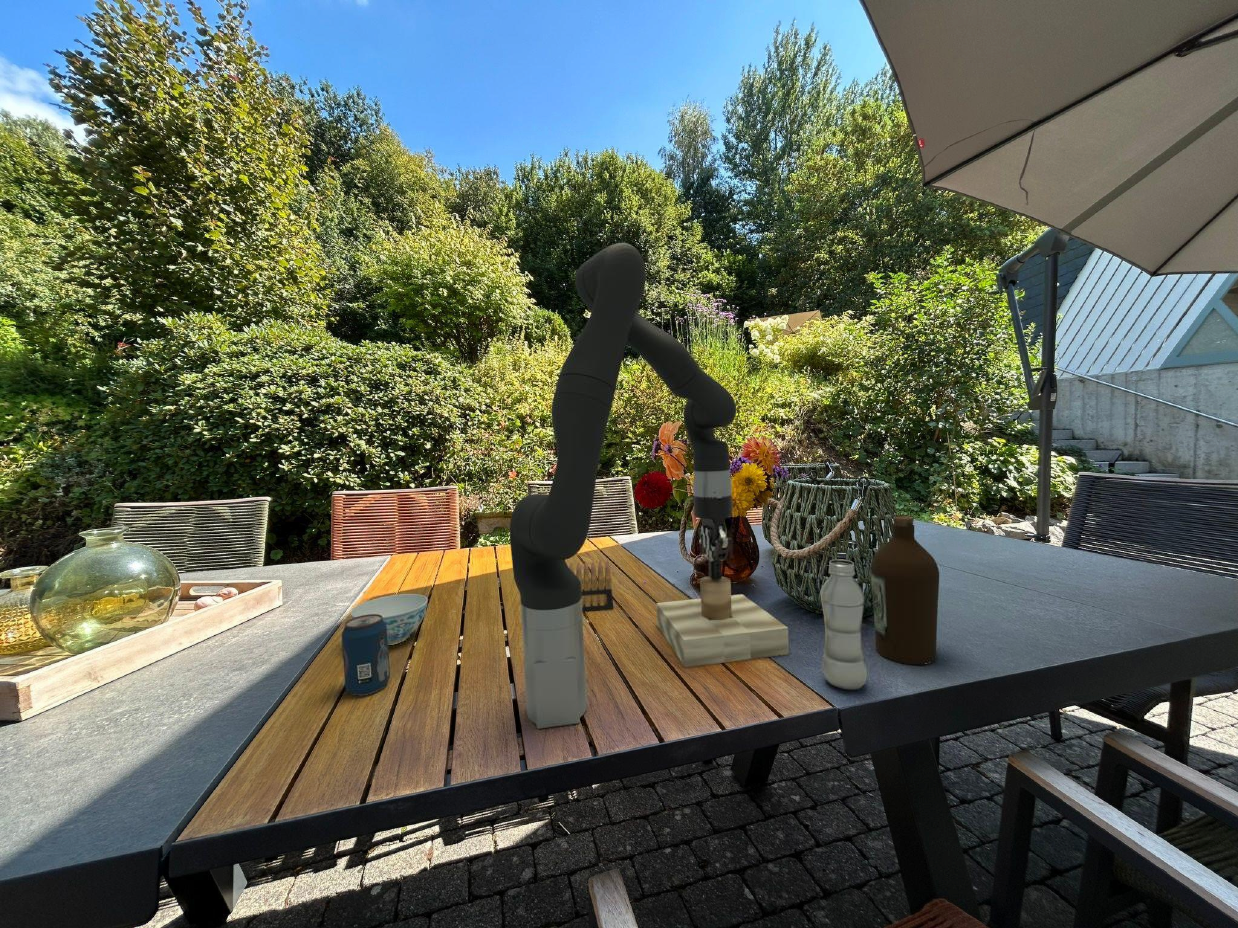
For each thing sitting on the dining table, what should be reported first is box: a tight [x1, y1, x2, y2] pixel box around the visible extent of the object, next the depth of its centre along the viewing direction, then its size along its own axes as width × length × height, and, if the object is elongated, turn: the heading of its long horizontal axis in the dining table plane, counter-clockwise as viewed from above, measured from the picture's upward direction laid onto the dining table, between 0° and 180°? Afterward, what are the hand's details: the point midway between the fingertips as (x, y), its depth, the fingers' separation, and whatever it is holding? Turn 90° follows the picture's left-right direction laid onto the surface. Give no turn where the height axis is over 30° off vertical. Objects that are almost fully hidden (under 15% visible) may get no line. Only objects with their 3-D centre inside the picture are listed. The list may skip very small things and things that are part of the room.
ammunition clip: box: [568, 560, 614, 613], centre depth 116 cm, size 11×2×12 cm, turn 96°
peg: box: [699, 575, 732, 620], centre depth 96 cm, size 6×6×12 cm
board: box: [656, 594, 790, 668], centre depth 97 cm, size 20×20×5 cm
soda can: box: [341, 614, 391, 696], centre depth 83 cm, size 7×7×12 cm
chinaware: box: [349, 593, 429, 644], centre depth 103 cm, size 15×15×8 cm
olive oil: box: [870, 515, 940, 665], centre depth 86 cm, size 11×11×25 cm
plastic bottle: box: [820, 559, 868, 691], centre depth 77 cm, size 6×7×20 cm
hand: (715, 578), depth 96 cm, fingers closed
